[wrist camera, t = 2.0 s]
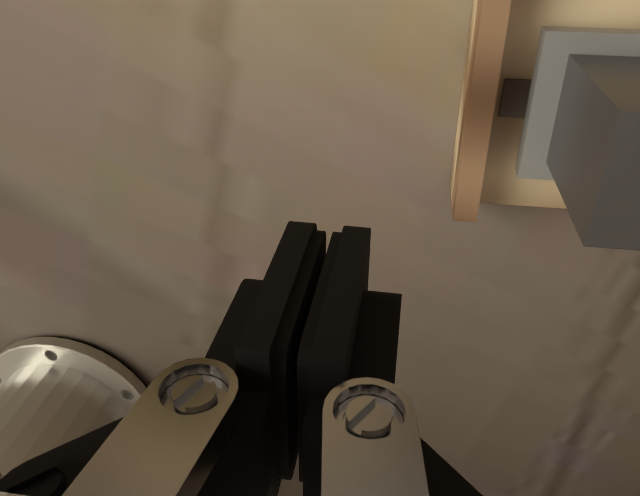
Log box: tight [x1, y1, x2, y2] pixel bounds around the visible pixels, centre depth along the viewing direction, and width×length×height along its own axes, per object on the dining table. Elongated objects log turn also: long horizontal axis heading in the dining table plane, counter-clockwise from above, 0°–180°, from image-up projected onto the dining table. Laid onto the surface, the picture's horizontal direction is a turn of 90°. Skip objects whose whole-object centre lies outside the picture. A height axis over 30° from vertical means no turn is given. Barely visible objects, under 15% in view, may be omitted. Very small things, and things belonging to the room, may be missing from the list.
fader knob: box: [515, 26, 640, 251], centre depth 21 cm, size 6×5×8 cm
